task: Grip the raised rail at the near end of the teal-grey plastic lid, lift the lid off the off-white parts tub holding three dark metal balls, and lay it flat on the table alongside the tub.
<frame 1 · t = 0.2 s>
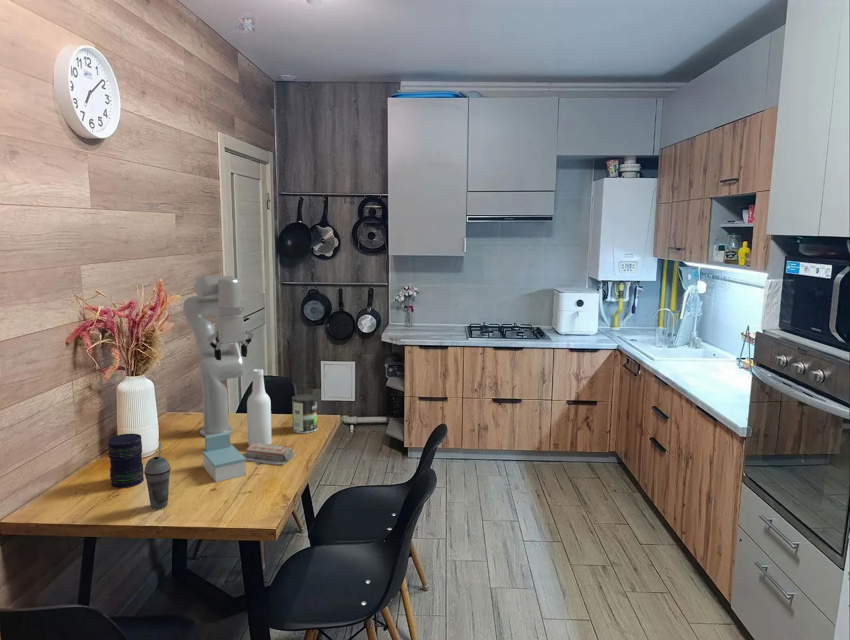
hand: (231, 358, 213), 36 cm above the table, tool pointing down, fingers open, 9 cm apart
ball b: (219, 465, 200), point 2 cm above the table, touching tub
lid: (223, 457, 201), point 5 cm above the table, touching tub
beverage cup: (159, 507, 175), on the table
packaged product: (267, 459, 214), on the table
tub: (224, 471, 201), on the table
coffee can: (305, 429, 245), on the table
ball a: (220, 460, 204), point 2 cm above the table, touching tub
ball c: (232, 467, 199), point 2 cm above the table, touching tub
alcohol: (259, 445, 226), on the table
storage jar: (127, 482, 192), on the table
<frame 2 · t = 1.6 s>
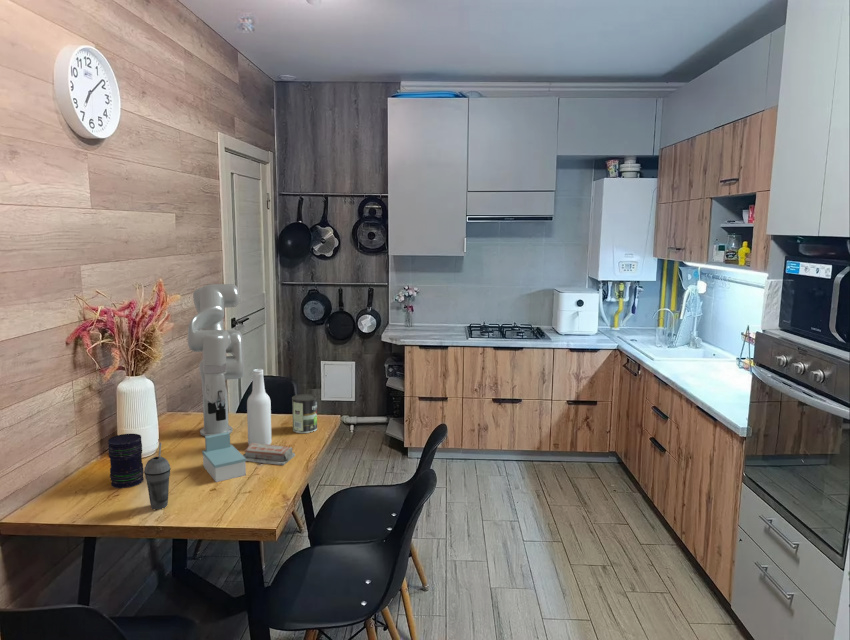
hand: (216, 416, 204), 18 cm above the table, tool pointing down, fingers open, 9 cm apart
nothing on the table moved.
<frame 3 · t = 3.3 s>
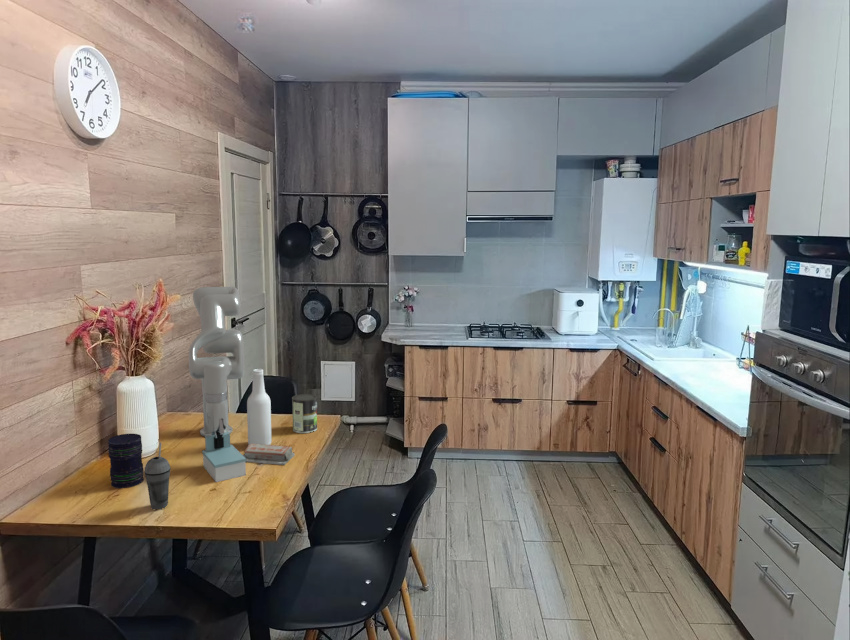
hand: (217, 446, 206), 7 cm above the table, tool pointing down, fingers closed on lid
lid: (223, 457, 201), point 5 cm above the table, touching gripper
everything else where it was.
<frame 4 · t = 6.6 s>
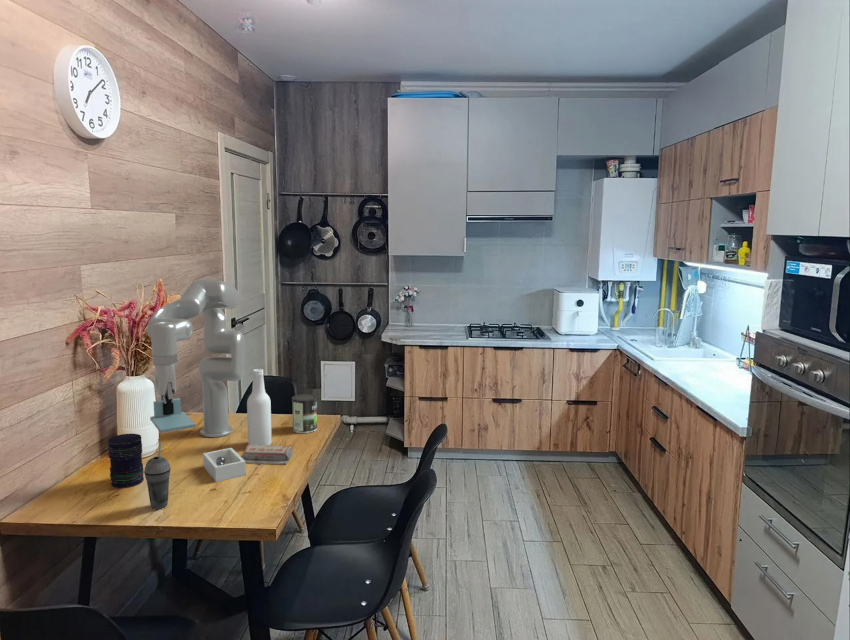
hand: (167, 413, 194), 22 cm above the table, tool pointing down, fingers closed on lid
lid: (172, 423, 189), point 20 cm above the table, touching gripper
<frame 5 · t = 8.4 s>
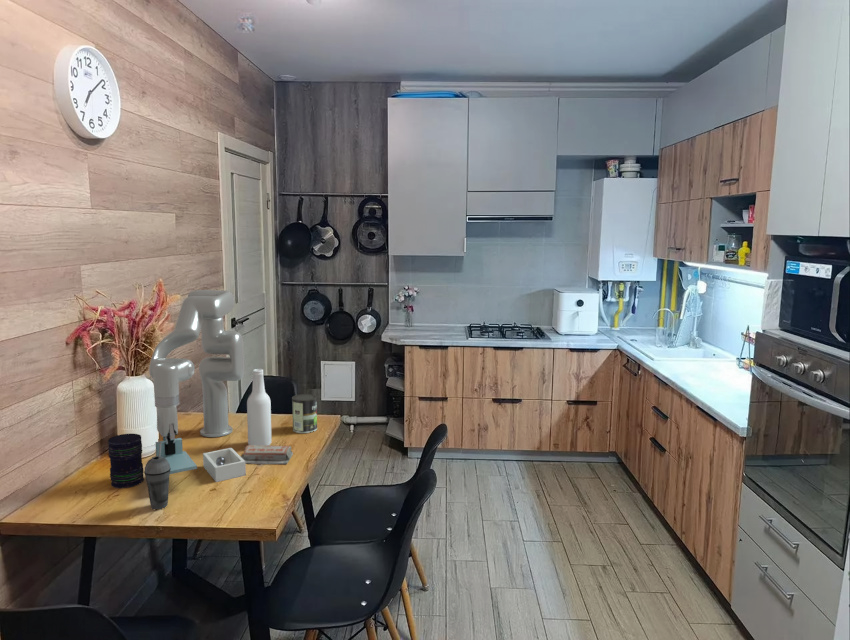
hand: (169, 452, 196), 8 cm above the table, tool pointing down, fingers closed on lid
lid: (174, 464, 191), point 6 cm above the table, touching gripper
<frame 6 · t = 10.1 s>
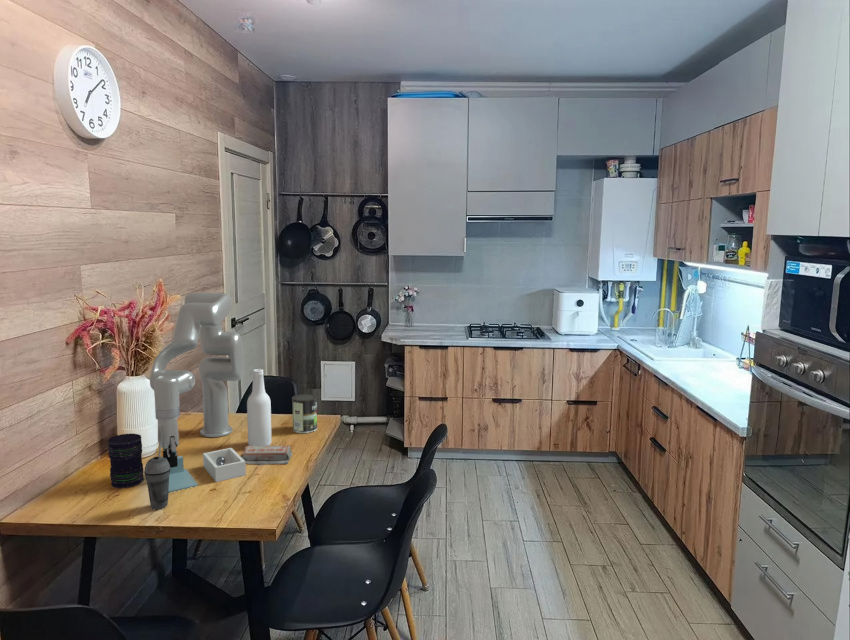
hand: (170, 463, 197), 4 cm above the table, tool pointing down, fingers open, 5 cm apart
lid: (175, 482, 192), on the table
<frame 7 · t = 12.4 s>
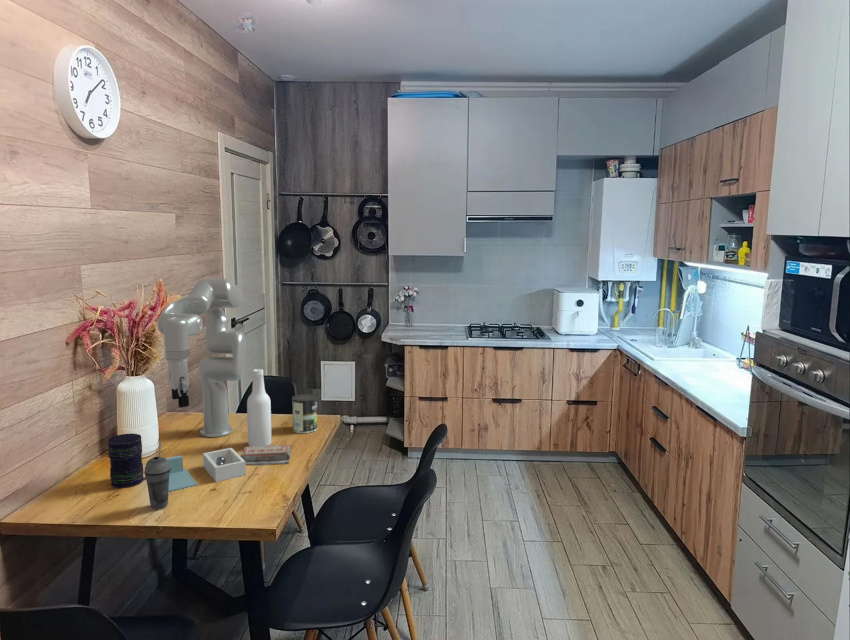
hand: (180, 402, 199), 24 cm above the table, tool pointing down, fingers open, 9 cm apart
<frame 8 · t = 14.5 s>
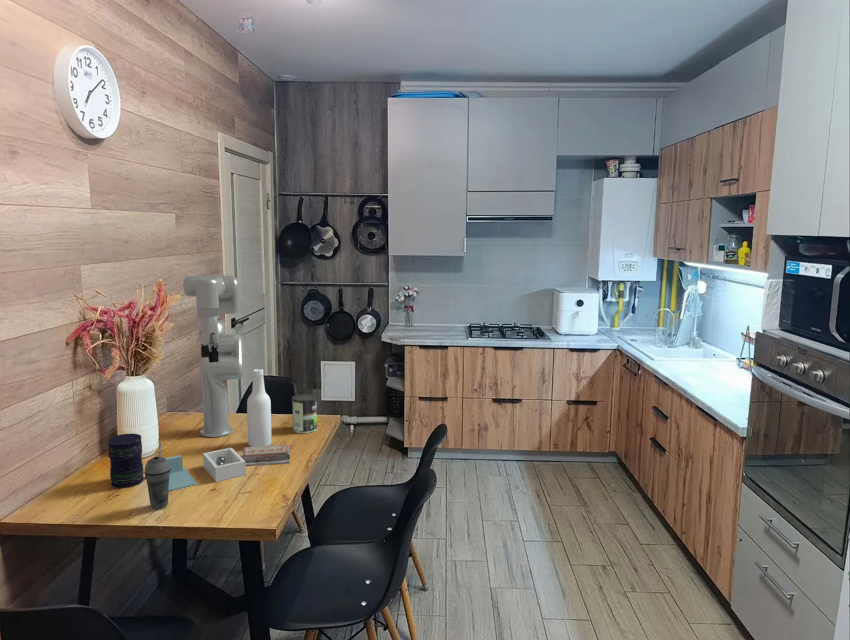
hand: (209, 359, 210), 36 cm above the table, tool pointing down, fingers open, 9 cm apart
at the end: lid inside the target area (2.2 cm from its centre), on the table; lid touching table; the gripper is holding nothing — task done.
